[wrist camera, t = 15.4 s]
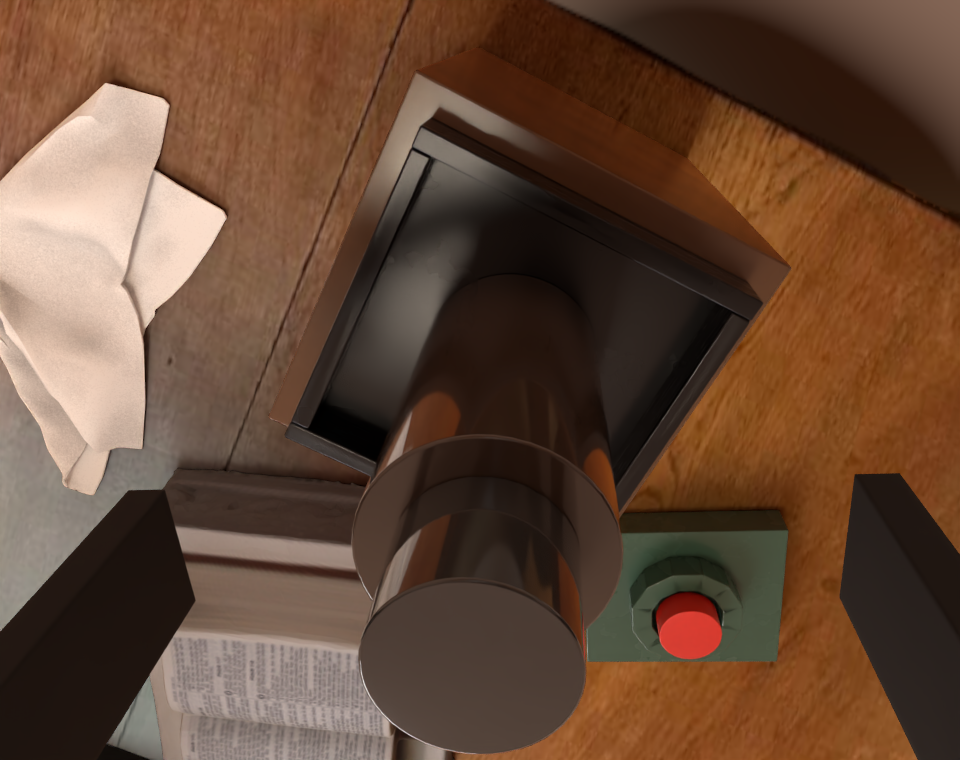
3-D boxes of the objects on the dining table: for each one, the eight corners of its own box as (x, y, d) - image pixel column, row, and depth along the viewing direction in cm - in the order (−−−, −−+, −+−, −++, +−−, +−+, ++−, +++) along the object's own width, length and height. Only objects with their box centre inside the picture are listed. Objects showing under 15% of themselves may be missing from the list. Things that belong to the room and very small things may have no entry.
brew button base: (779, 509, 49) (797, 548, 46) (768, 637, 53) (784, 683, 50) (581, 513, 51) (583, 552, 47) (585, 638, 55) (588, 682, 51)
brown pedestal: (687, 158, 41) (813, 289, 21) (574, 350, 46) (589, 604, 26) (477, 46, 40) (402, 74, 20) (383, 255, 45) (246, 447, 25)
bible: (540, 514, 51) (537, 620, 42) (442, 798, 62) (424, 929, 53) (179, 419, 50) (97, 506, 41) (146, 723, 61) (76, 843, 52)
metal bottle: (595, 268, 23) (639, 530, 11) (599, 429, 25) (639, 793, 13) (416, 278, 24) (279, 537, 12) (434, 435, 26) (334, 788, 14)
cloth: (18, 18, 41) (-10, 18, 39) (263, 152, 43) (249, 159, 41) (-82, 410, 52) (-109, 427, 49) (119, 506, 53) (101, 526, 51)
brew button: (717, 591, 48) (723, 610, 46) (715, 638, 49) (721, 659, 48) (656, 591, 48) (659, 611, 46) (655, 639, 50) (658, 659, 48)
